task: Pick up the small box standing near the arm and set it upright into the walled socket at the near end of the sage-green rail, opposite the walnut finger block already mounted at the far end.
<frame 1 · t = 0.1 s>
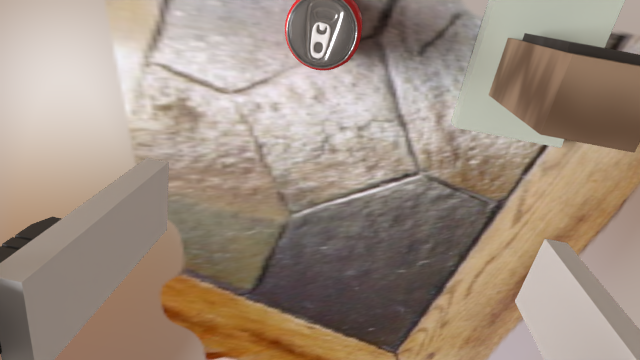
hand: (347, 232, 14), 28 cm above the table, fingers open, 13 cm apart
mounted finger: (523, 70, 38), resting on rail
beverage can: (334, 22, 38), on the table
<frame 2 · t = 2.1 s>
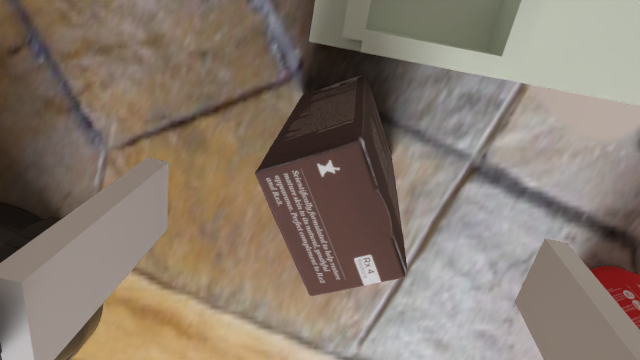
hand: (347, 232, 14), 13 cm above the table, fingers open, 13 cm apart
box: (346, 128, 26), on the table
beverage can: (599, 289, 29), on the table
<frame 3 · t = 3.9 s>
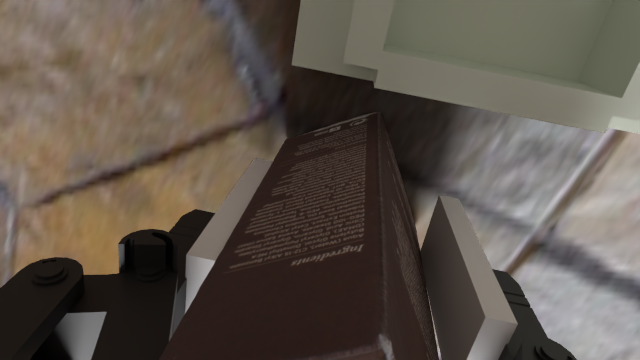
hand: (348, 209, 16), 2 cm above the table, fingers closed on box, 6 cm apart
box: (350, 186, 18), on the table, touching gripper
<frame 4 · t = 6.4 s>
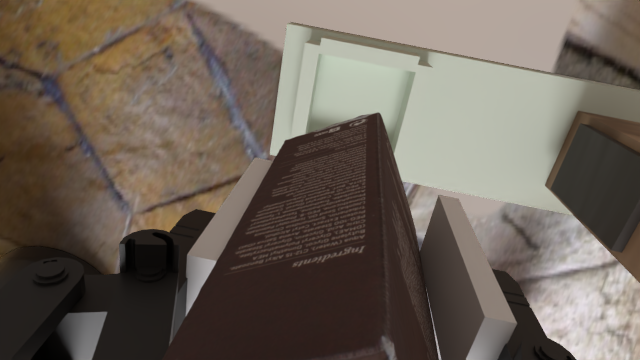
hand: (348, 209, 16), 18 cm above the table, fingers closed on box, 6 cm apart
mounted finger: (581, 147, 32), resting on rail
rail: (468, 124, 32), on the table
box: (349, 186, 18), point 16 cm above the table, touching gripper
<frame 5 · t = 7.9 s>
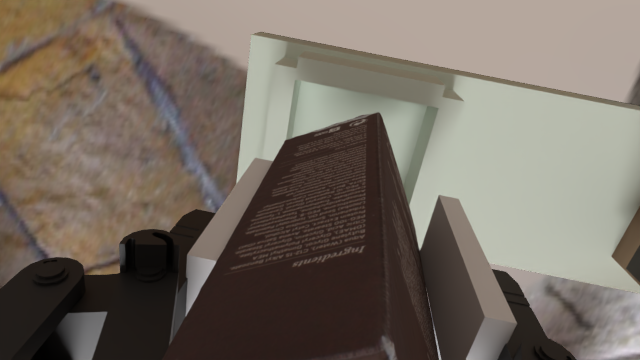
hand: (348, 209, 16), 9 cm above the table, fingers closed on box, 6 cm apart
rail: (504, 171, 24), on the table
box: (349, 186, 18), point 6 cm above the table, touching gripper
when the fingers open (6 cm above the table, at t = 9.1 s): box drops 2 cm, resting on rail.
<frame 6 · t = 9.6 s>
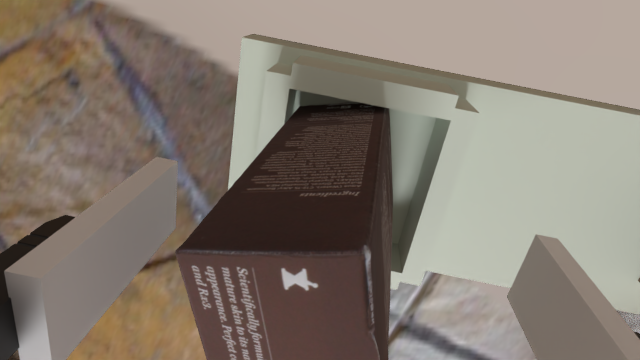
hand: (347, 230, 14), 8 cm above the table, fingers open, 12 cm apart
rail: (520, 186, 22), on the table
box: (345, 161, 20), point 2 cm above the table, touching rail
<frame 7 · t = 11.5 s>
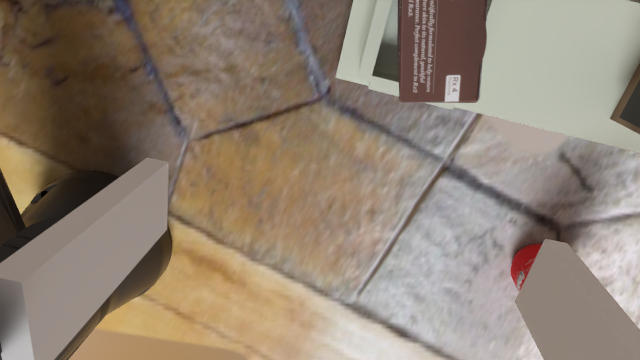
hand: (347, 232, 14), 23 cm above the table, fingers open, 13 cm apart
rail: (535, 56, 33), on the table
box: (422, 27, 31), point 2 cm above the table, touching rail
beverage can: (535, 261, 40), on the table
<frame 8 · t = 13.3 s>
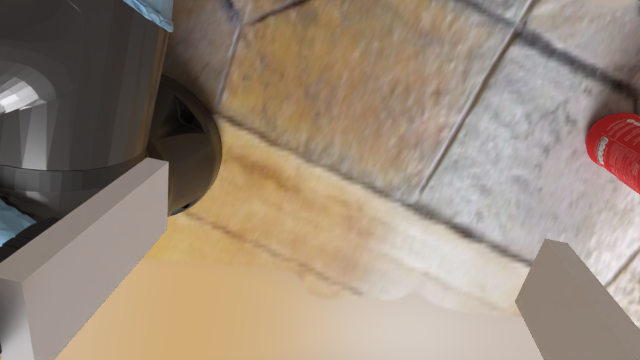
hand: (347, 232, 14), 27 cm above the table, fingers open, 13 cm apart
beverage can: (609, 136, 38), on the table
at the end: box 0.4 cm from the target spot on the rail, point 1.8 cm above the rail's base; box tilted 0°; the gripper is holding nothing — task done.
